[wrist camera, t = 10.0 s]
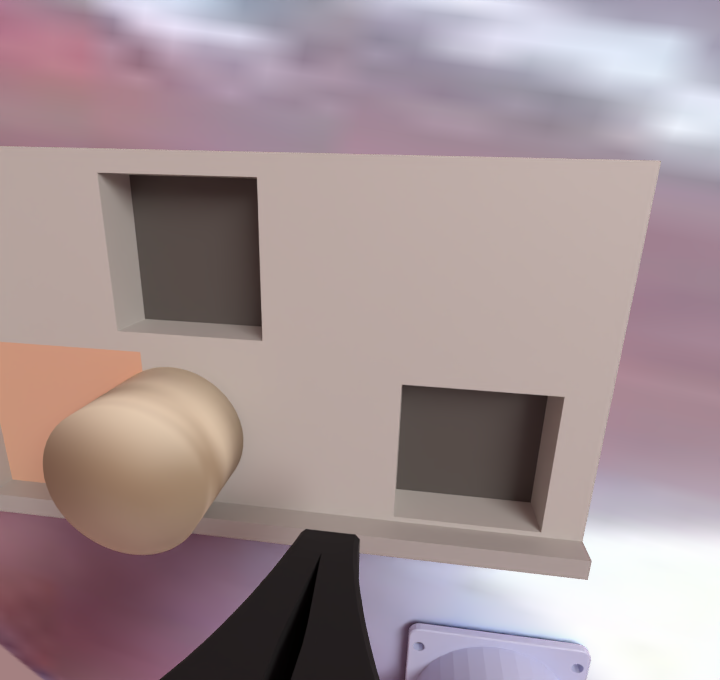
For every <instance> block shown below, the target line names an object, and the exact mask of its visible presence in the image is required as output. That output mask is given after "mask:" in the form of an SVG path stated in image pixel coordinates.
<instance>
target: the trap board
mask: <svg viewBox="0 0 720 680" xmlns="http://www.w3.org/2000/svg"><path fill="white" fill-rule="evenodd" d="M660 164H661V161H646V160H601V159H555V158H510V157H465V156H420V155H374V154H329V153H284V152H239V151H193V150H148V149H103V148H58V147H13V146H0V511H6V512H14V513H23V514H31V515H40V516H48V517H57V518H65V517H64V516H63V515H62V514H61V512H60V511H59V509H58V508H57V507H56V505H55V503H54V502H53V500H52V498H51V496H50V494H49V491H48V489H47V486H46V482H45V479H44V473H43V454H44V449H45V445H46V442H47V440H48V438H49V436H50V434H51V432H52V431H53V430H54V428H55V427H56V426H57V425H58V424H59V423H60V422H61V421H62V420H64V419H65V418H67V417H68V416H70V415H71V414H73V413H74V412H76V411H78V410H79V409H81V408H82V407H84V406H86V405H87V404H89V403H90V402H92V401H94V400H95V399H97V398H98V397H100V396H102V395H103V394H105V393H107V392H108V391H110V390H111V389H113V388H115V387H116V386H118V385H119V384H121V383H123V382H124V381H126V380H127V379H129V378H131V377H132V376H134V375H135V374H137V373H139V372H142V371H144V370H147V369H151V368H157V367H173V368H179V369H183V370H187V371H190V372H192V373H195V374H197V375H199V376H201V377H203V378H205V379H206V380H208V381H209V382H211V383H212V384H213V385H215V386H216V387H217V388H218V389H219V390H220V391H221V392H222V393H223V394H224V395H225V396H226V397H227V398H228V400H229V401H230V403H231V404H232V405H233V407H234V409H235V411H236V412H237V415H238V417H239V420H240V423H241V426H242V431H243V451H242V456H241V459H240V462H239V464H238V466H237V468H236V469H235V471H234V472H233V474H232V475H231V477H230V478H229V479H228V481H227V482H226V484H225V485H224V487H223V488H222V490H221V491H220V493H219V494H218V496H217V497H216V498H215V500H214V501H213V503H212V504H211V506H210V507H209V509H208V510H207V512H206V513H205V515H204V516H203V518H202V519H201V520H200V522H199V523H198V525H197V526H196V528H195V529H194V531H193V532H192V533H193V534H201V535H210V536H218V537H227V538H235V539H244V540H253V541H261V542H270V543H278V544H287V545H292V544H293V543H294V541H295V540H296V539H297V537H298V536H299V535H300V533H301V532H302V531H304V530H305V529H311V530H320V531H329V532H338V533H347V534H356V536H357V537H358V538H359V539H360V551H359V553H363V554H372V555H380V556H389V557H397V558H406V559H414V560H423V561H431V562H440V563H448V564H457V565H465V566H474V567H482V568H491V569H499V570H508V571H517V572H525V573H534V574H542V575H551V576H559V577H568V578H576V579H585V580H588V576H589V571H590V566H591V562H592V561H591V559H590V557H589V555H588V553H587V551H586V548H585V546H584V544H583V542H582V541H583V536H584V531H585V526H586V521H587V517H588V512H589V507H590V502H591V497H592V492H593V488H594V483H595V478H596V473H597V468H598V463H599V459H600V454H601V449H602V444H603V439H604V434H605V430H606V425H607V420H608V415H609V410H610V405H611V401H612V396H613V391H614V386H615V381H616V376H617V372H618V367H619V362H620V357H621V352H622V347H623V342H624V338H625V333H626V328H627V323H628V318H629V313H630V309H631V304H632V299H633V294H634V289H635V284H636V280H637V275H638V270H639V265H640V260H641V255H642V251H643V246H644V241H645V236H646V231H647V226H648V222H649V217H650V212H651V207H652V202H653V197H654V193H655V188H656V183H657V178H658V173H659V168H660ZM65 519H66V518H65Z"/></svg>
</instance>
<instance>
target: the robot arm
mask: <svg viewBox="0 0 720 680" xmlns="http://www.w3.org/2000/svg"><path fill="white" fill-rule="evenodd" d="M359 551H360V539H359V538H358V537H357V536H356V534H347V533H338V532H329V531H320V530H311V529H305V530H304V531H302V532H301V533H300V535H299V536H298V537H297V539H296V540H295V541H294V543H293V544H292V546H291V547H290V548H289V549H288V551H287V552H286V553H285V555H284V556H283V557H282V558H281V560H280V561H279V562H278V563H277V565H276V566H275V567H274V568H273V570H272V571H271V572H270V573H269V574H268V575H267V577H266V578H265V579H264V580H263V581H262V582H261V583H260V585H259V586H258V587H257V588H256V589H255V590H254V592H253V593H252V594H251V595H250V596H249V597H248V598H247V599H246V600H245V601H244V602H243V603H242V604H241V605H240V606H239V608H238V609H237V610H236V611H235V612H234V613H233V614H232V615H231V616H230V617H229V618H228V619H227V620H226V621H225V622H224V623H223V624H222V625H221V626H220V627H219V628H218V629H217V630H216V631H215V632H214V633H213V634H212V635H211V636H210V637H209V638H207V639H206V640H205V641H204V642H203V643H202V644H201V645H200V646H199V647H198V648H197V649H195V650H194V651H193V652H192V653H191V654H190V655H189V656H188V657H186V658H185V659H184V660H183V661H182V662H181V663H179V664H178V665H177V666H176V667H174V668H173V669H172V670H171V671H170V672H168V673H167V674H166V675H165V676H163V677H162V678H161V679H160V680H380V679H379V676H378V673H377V669H376V665H375V662H374V658H373V654H372V650H371V646H370V642H369V637H368V633H367V628H366V623H365V618H364V613H363V607H362V600H361V594H360V587H359ZM416 642H420V643H416ZM590 662H591V657H590V654H589V651H588V650H587V648H586V647H585V646H583V645H580V644H574V643H566V642H559V641H551V640H544V639H536V638H529V637H521V636H514V635H506V634H498V633H491V632H483V631H476V630H468V629H461V628H453V627H445V626H438V625H430V624H423V623H416V624H413V625H412V626H411V627H410V629H409V636H408V649H407V661H406V674H405V680H586V679H587V675H588V670H589V666H590Z"/></svg>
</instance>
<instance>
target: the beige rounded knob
mask: <svg viewBox="0 0 720 680" xmlns="http://www.w3.org/2000/svg"><path fill="white" fill-rule="evenodd" d="M242 451H243V431H242V426H241V423H240V420H239V417H238V415H237V412H236V411H235V409H234V407H233V405H232V404H231V403H230V401H229V400H228V398H227V397H226V396H225V395H224V394H223V393H222V392H221V391H220V390H219V389H218V388H217V387H216V386H215V385H213V384H212V383H211V382H209V381H208V380H206V379H205V378H203V377H201V376H199V375H197V374H195V373H192V372H190V371H187V370H183V369H179V368H173V367H157V368H151V369H147V370H144V371H142V372H139V373H137V374H135V375H134V376H132V377H131V378H129V379H127V380H126V381H124V382H123V383H121V384H119V385H118V386H116V387H115V388H113V389H111V390H110V391H108V392H107V393H105V394H103V395H102V396H100V397H98V398H97V399H95V400H94V401H92V402H90V403H89V404H87V405H86V406H84V407H82V408H81V409H79V410H78V411H76V412H74V413H73V414H71V415H70V416H68V417H67V418H65V419H64V420H62V421H61V422H60V423H59V424H58V425H57V426H56V427H55V428H54V430H53V431H52V432H51V434H50V436H49V438H48V440H47V442H46V445H45V449H44V454H43V473H44V479H45V482H46V486H47V489H48V491H49V494H50V496H51V498H52V500H53V502H54V503H55V505H56V507H57V508H58V509H59V511H60V512H61V514H62V515H63V516H64V517H65V518H66V520H67V521H68V522H69V523H70V524H71V525H72V526H73V527H74V528H76V529H77V530H78V531H79V532H81V533H82V534H83V535H84V536H86V537H87V538H89V539H91V540H92V541H94V542H96V543H98V544H100V545H102V546H104V547H106V548H109V549H111V550H114V551H118V552H121V553H127V554H133V555H151V554H157V553H162V552H165V551H168V550H170V549H172V548H174V547H176V546H178V545H179V544H181V543H182V542H183V541H185V540H186V539H187V538H188V537H189V536H190V535H191V533H192V532H193V531H194V529H195V528H196V526H197V525H198V523H199V522H200V520H201V519H202V518H203V516H204V515H205V513H206V512H207V510H208V509H209V507H210V506H211V504H212V503H213V501H214V500H215V498H216V497H217V496H218V494H219V493H220V491H221V490H222V488H223V487H224V485H225V484H226V482H227V481H228V479H229V478H230V477H231V475H232V474H233V472H234V471H235V469H236V468H237V466H238V464H239V462H240V459H241V456H242Z"/></svg>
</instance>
